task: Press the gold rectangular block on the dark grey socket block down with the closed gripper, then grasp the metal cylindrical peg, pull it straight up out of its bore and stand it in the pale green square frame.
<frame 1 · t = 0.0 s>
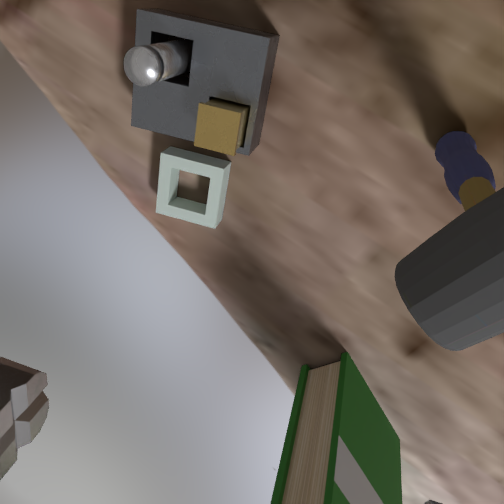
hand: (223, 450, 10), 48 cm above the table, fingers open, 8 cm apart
metal cylindrical peg: (187, 54, 54), resting in socket block
pale green square frame: (196, 183, 61), on the table
socket block: (210, 78, 54), on the table
hardback book: (351, 401, 71), on the table
rubber mallet: (452, 145, 51), on the table
gold rectangular block: (225, 123, 50), point 6 cm above the table, slide at 0.0 cm
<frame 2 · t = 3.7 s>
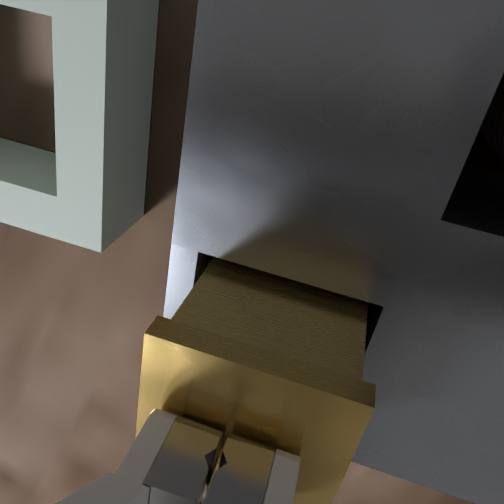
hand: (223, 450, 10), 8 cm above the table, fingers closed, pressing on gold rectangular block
pale green square frame: (42, 79, 16), on the table
socket block: (426, 178, 14), on the table
gold rectangular block: (268, 354, 12), point 5 cm above the table, slide at 0.5 cm, touching gripper
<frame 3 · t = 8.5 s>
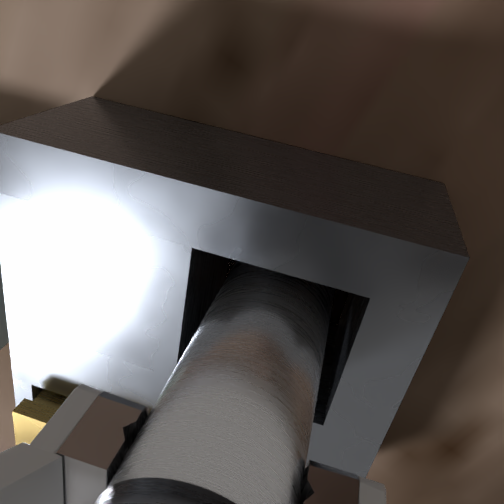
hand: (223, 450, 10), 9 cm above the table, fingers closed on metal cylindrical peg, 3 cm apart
metal cylindrical peg: (292, 257, 17), resting in socket block, touching gripper
socket block: (227, 307, 19), on the table
gold rectangular block: (117, 410, 19), point 3 cm above the table, slide at 2.5 cm
when the fingers open (11 cm above the table, at t = 14.4 s): metal cylindrical peg drops 2 cm, resting in pale green square frame.
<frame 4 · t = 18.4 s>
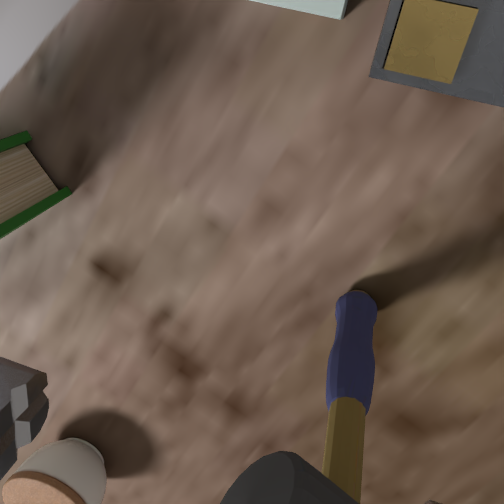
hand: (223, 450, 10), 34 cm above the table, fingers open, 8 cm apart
lidded bowl: (82, 453, 70), on the table
rubber mallet: (357, 300, 47), on the table
gold rectangular block: (425, 37, 32), point 3 cm above the table, slide at 2.5 cm
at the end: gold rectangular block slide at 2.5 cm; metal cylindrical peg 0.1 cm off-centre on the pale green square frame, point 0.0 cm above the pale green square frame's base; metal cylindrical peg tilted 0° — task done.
